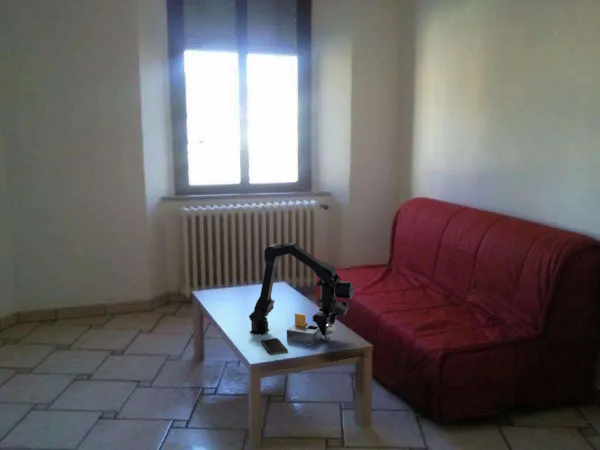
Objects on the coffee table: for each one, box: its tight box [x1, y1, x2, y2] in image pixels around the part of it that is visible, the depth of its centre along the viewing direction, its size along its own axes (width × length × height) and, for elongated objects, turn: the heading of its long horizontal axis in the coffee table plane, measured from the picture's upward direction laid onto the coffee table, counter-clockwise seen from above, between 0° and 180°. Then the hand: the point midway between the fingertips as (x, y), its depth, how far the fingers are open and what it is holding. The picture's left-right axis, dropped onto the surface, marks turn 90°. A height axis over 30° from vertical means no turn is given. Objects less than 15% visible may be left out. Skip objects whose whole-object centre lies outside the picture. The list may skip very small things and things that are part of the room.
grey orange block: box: [294, 312, 308, 326], centre depth 250 cm, size 4×3×5 cm, turn 65°
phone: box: [259, 337, 289, 356], centre depth 239 cm, size 8×1×15 cm
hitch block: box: [286, 323, 324, 346], centre depth 247 cm, size 12×10×5 cm
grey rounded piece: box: [323, 322, 336, 343], centre depth 245 cm, size 6×6×7 cm
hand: (327, 332), depth 245 cm, fingers open, 8 cm apart
